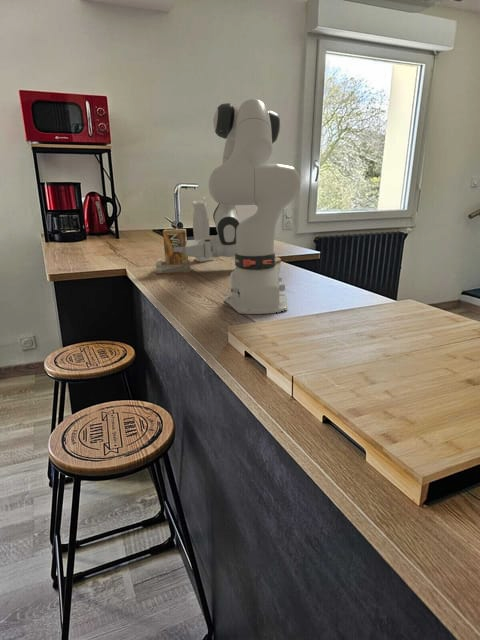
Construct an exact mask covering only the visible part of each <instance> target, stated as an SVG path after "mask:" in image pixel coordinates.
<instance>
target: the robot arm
mask: <svg viewBox="0 0 480 640" xmlns="http://www.w3.org/2000/svg"><path fill="white" fill-rule="evenodd" d="M216 108H217V109H216V110H215V112H214V116H213V119H212V121H213V123H212V124H213V127H214V133H215V134H216V136H218V137H220V138H223V139H225V143H224V149H223V153H222V154H223V155H222V164H221V165H219V166H217V167H215V168H214V170H212V172H211V174H210V176H209V180H208V191H209V193H210V196H211V197H212V199H213V200H214V202H216V203H217V206H216V207H215V209H214V212H213V215H212V217H213V218H212V219H213V222H214V224H215V228H216V229H215V231H216V232H217V234H215V235H209V236H203V239H199V240H195V239H188V240H187V244H185V246H184V247H174V248H173V251H174V252H185V254H186V256H188V257H193V258H195V257H205V258H210V259H215V258H219V257H225V258H233V257H234V265H235V268H234V270H232V271H231V272H230V295H227V296H225V298H224V301H225V303H227V305H229V306H230V307H231V308H232V309H234V311H236V312H237V313H239V314H241V315H242V314H243V315H245V314H246V315H264V314H276V312H277V313H281V311H283V312H285V311H284V310H286V309H287V310H288V303H287V296H286V293H283V292H285V290H286V287H285V286H286V284H285V283H280V282H283V281H282V280H283V277H282V276H280V272H279V271H278V270H277V269H276V268H275V266H276V262H275V261H276V257H277V256H276V253H275V252H274V251H275V249H274V248H275V247H274V245H275V233H276V232H275V231H276V227H277V226H276V225H277V222H278V220H279V217H280V215H281V214H282V212H283V211H284V210H285V208H287V206H289V204H291V203H292V202H294V200H296V198H297V197H298V195H299V193H300V189H301V184H302V183H301V177H300V174H299V172H298V171H297V169H296V168H295V167H294V166H292V165H286V164H281V163H267V162H268V161H269V160H270V158H271V156H272V153H273V143H276V141H277V139H278V137H279V134H280V132H281V121H280V120H281V119H280V116H279V114H278V113H276V112H275V111H273V110H268V107H267V106H266V104H265V103H264V102H263V101H261V99H257V98H250V99H246V100H245V101H244V102H242V103H241V104H231V103H230V102H229V103H227V102H226V103H221V104H220V105H219V106H217V107H216ZM236 206H257V210H256V212H255V213H254V214H253V215H250V216H249V217H247V218H245V219H243V220H242V221H240V219H239V217H238V211H237V209H236ZM287 310H286V311H287Z"/></svg>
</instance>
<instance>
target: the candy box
mask: <svg viewBox="0 0 480 640" xmlns="http://www.w3.org/2000/svg"><path fill="white" fill-rule="evenodd" d="M162 237H163V238H162V239H163V247H164V248H163V249H164V259H165V260H164V261H165V262H166V264H188V260H189V256H186V254H185V252H174V251H173V248H174V247H184V246H185V244H187V239H188V238H187V229H186V228H184V229H183V228H181V229H180V228H178V229H175V228H174V229H164V230H162Z"/></svg>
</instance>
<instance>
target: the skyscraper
mask: <svg viewBox="0 0 480 640" xmlns="http://www.w3.org/2000/svg"><path fill="white" fill-rule="evenodd" d="M191 204H192V207H193V216H192V230H193V231H192V232H193V233H192V234H193V240H199V239H203V236H210V218H209V215H208V211H207V206H208V199H207V198H206V197H205V196H204V197H203V198H202V200H197V201H195V200H193V201H192V203H191ZM194 260H196V261H195V262H198V263H207V262H212V261H215V258H205V257H194V259H193V261H194Z"/></svg>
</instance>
